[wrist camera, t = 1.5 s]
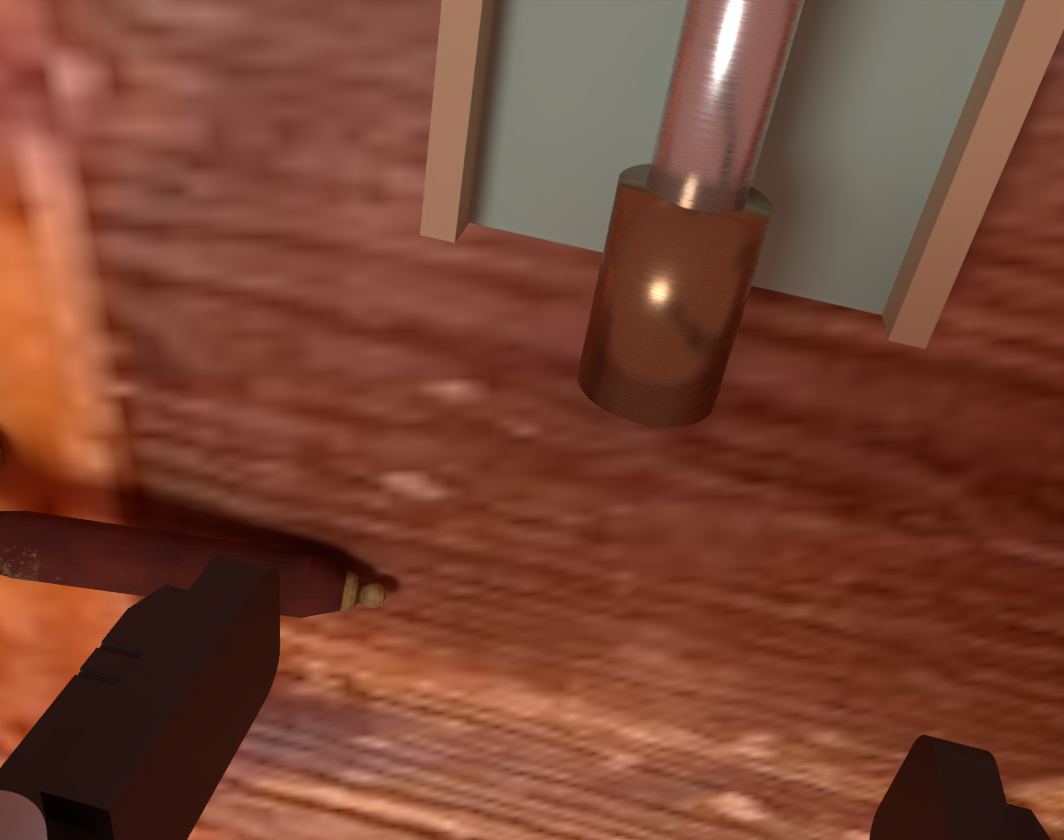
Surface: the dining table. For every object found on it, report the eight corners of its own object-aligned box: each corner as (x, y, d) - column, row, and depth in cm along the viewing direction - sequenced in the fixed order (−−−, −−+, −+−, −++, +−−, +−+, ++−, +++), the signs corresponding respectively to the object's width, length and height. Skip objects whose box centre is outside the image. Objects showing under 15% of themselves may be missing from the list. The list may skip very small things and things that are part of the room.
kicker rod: (905, -314, 20) (982, -383, 13) (721, 314, 28) (708, 480, 21) (740, -342, 20) (728, -424, 13) (605, 288, 28) (554, 443, 21)
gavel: (404, 475, 42) (384, 657, 34) (387, 551, 44) (365, 737, 36) (-125, 387, 38) (-290, 567, 30) (-109, 475, 41) (-257, 663, 33)
